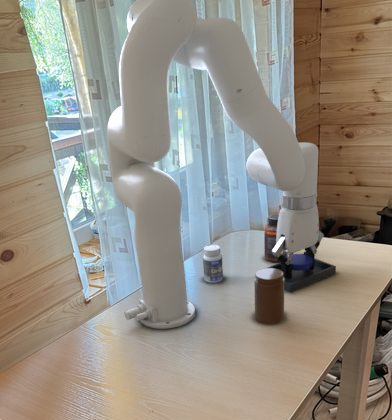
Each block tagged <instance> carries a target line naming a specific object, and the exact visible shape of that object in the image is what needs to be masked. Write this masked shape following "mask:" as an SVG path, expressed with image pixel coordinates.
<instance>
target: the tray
mask: <svg viewBox="0 0 392 420" xmlns="http://www.w3.org/2000/svg"><path fill="white" fill-rule="evenodd" d="M266 268H275V269H279V270H281V262H278V263H276V264H273V265H271V266H268V267H265V268H264V269H266ZM336 272H337V265H334V264H331V263H329V262H326V261H323V260H321V259H318V258H315V260H314V270H309V269H307V270H301V271H297V270H292V279H290V280H289V279H286V278H285V291H286V292H288V293H293V292H295V291H298V290H300V289H303V288H305V287H307V286H310V285H312V284H314V283H316V282H319V281H321V280H324V279H326V278H328V277H331V276H333V275H335V274H336Z"/></svg>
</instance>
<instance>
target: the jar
mask: <svg viewBox="0 0 392 420" xmlns="http://www.w3.org/2000/svg"><path fill="white" fill-rule="evenodd" d="M265 268H266V269H265ZM265 268H261V269H259V270H257V271H256V272H255V277H254V279H253V280H254V281H253V282H254V284H253V286H254V319H255V321H256V322H258V323H260V324H263V325H276V324H278V323H281V322H283V320H284V318H285V291H286V290H285V278H284V273H283V272H282V271H281V270H279V269H275V268H268V267H265Z"/></svg>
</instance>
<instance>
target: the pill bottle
mask: <svg viewBox="0 0 392 420" xmlns="http://www.w3.org/2000/svg"><path fill="white" fill-rule="evenodd" d="M203 254H204V255H203V256H202V264H203V265H202V266H203V279H204V281H205V282H207V283H209V284H215V283H220V282H221V281H222V280H224V269H223V268H224V267H223V255H222V254H221V246H220V245H218V244H209V245H206V246H204V247H203Z"/></svg>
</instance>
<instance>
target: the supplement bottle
mask: <svg viewBox="0 0 392 420" xmlns="http://www.w3.org/2000/svg"><path fill="white" fill-rule="evenodd" d="M278 217H279V214H271V215H268V217H267V222H268V223H267V224H266V225H265V226H264V234H263V235H264V238H263V239H264V242H263V243H264V246H263V247H264V258H265V260H267V261H269V262H273V263H274V262H279V260H278V259H277V258H276V257H275V256H274V255H273V254H272V250H273V249H274V247H275V246H276V235H277V224H278ZM281 251H282V250H281ZM287 255H288V253H286V255H285V257H286V256H287Z"/></svg>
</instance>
